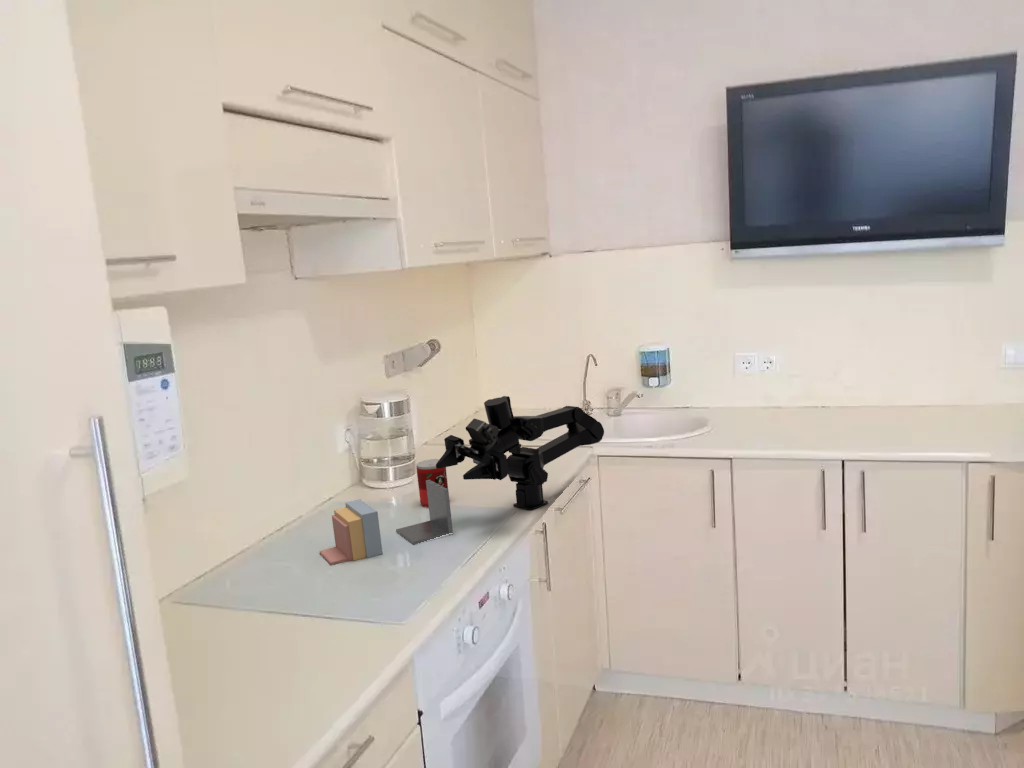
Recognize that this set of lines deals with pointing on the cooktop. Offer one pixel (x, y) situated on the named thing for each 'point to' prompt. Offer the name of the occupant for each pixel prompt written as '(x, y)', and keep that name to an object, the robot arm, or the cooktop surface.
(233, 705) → the cooktop surface
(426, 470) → the canned food
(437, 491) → the bookend
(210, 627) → the cooktop surface
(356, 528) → the book row
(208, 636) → the cooktop surface
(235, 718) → the cooktop surface
